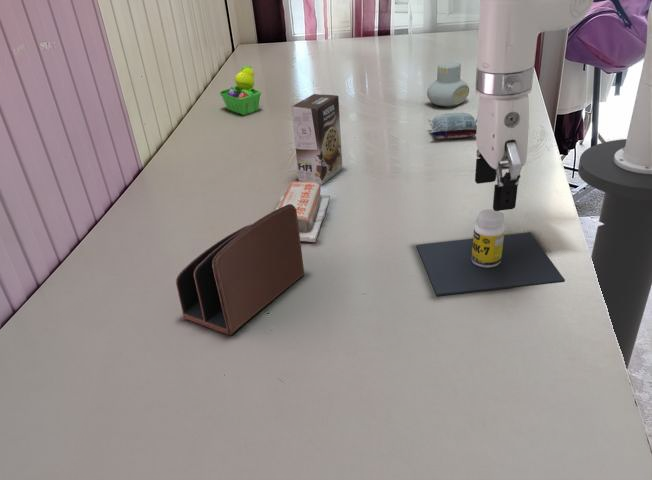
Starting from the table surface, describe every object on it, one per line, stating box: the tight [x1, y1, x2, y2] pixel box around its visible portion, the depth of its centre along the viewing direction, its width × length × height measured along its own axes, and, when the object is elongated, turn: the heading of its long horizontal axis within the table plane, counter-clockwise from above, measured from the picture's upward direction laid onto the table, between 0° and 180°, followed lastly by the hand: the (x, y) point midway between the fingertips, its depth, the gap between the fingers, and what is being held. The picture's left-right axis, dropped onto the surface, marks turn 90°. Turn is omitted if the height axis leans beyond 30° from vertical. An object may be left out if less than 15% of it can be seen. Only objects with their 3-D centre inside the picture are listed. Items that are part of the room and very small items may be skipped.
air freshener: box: [426, 60, 470, 108], centre depth 167 cm, size 11×8×10 cm
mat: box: [416, 231, 566, 297], centre depth 105 cm, size 20×16×1 cm
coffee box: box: [291, 93, 343, 186], centre depth 135 cm, size 9×6×16 cm
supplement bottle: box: [472, 208, 506, 268], centre depth 102 cm, size 5×5×8 cm
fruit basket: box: [219, 65, 262, 116], centre depth 179 cm, size 11×9×11 cm
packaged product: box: [275, 180, 331, 243], centre depth 122 cm, size 18×5×10 cm
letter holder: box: [175, 204, 305, 336], centre depth 100 cm, size 10×20×14 cm, turn 145°
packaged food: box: [427, 112, 477, 140], centre depth 150 cm, size 9×12×5 cm
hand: (494, 195), depth 98 cm, fingers open, 9 cm apart
